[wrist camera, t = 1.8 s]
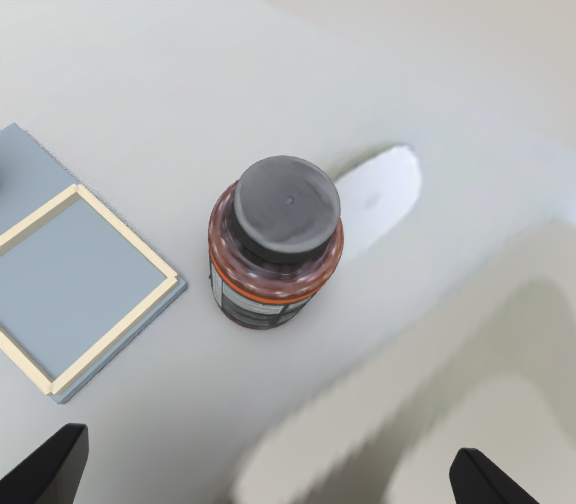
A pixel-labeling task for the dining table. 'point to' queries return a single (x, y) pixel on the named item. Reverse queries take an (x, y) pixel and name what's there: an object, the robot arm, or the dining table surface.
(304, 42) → the dining table surface
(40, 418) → the dining table surface
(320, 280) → the supplement bottle
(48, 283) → the board
